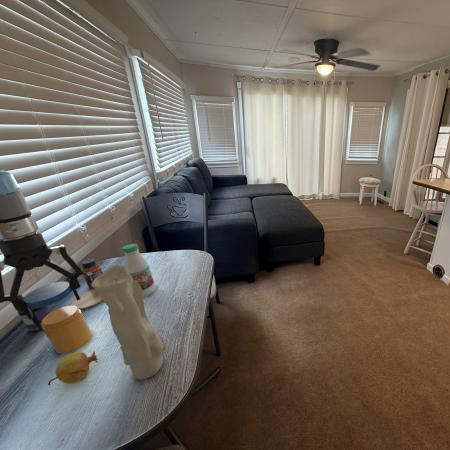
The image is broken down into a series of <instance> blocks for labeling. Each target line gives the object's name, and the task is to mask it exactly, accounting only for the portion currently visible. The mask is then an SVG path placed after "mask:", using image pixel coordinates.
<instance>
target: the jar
mask: <svg viewBox="0 0 450 450" xmlns="http://www.w3.org/2000/svg"><path fill="white" fill-rule="evenodd" d="M50 312H51V313H49V314H48V315H47V316H45V317H44V318H43V320H42V328H43V329H42V330H43V332H44V334H45V335H46V337H47V339H48V340H49V343H50V344H51V346H52V348H53V349H54V351H55V352H56V353H57V354H67V353H71V352H73V351H76V350H78V349H79V348H81V347H83V346H84V345H85V344H86V343H88V342H89V340H90V339H91V338H92V336H93V333H92V331H91V328H90V326H89V325H88V323H87V322H88V321H87V320H86V318H85V316H84V313H83V312H82V309H81V310H80V309H78V308H77V307H76V306H71V305H66V306H63V307H59V308H57V309H55V310H53V311H50Z"/></svg>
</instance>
